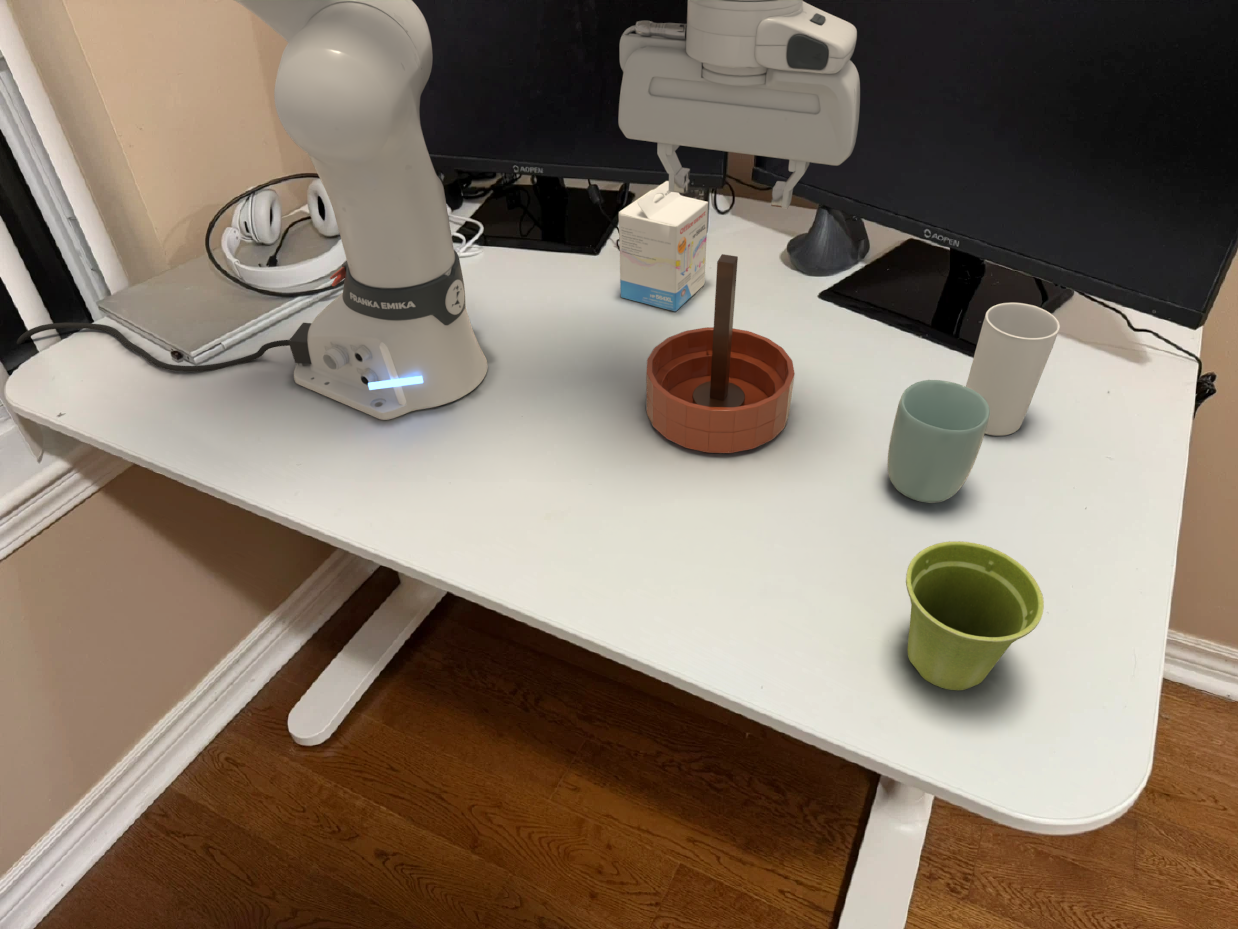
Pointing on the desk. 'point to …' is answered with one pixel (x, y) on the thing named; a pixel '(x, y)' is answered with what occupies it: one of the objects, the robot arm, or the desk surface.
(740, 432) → the bowl
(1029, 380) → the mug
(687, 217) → the ink box
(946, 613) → the plant pot
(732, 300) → the brown post stand
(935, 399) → the cup
